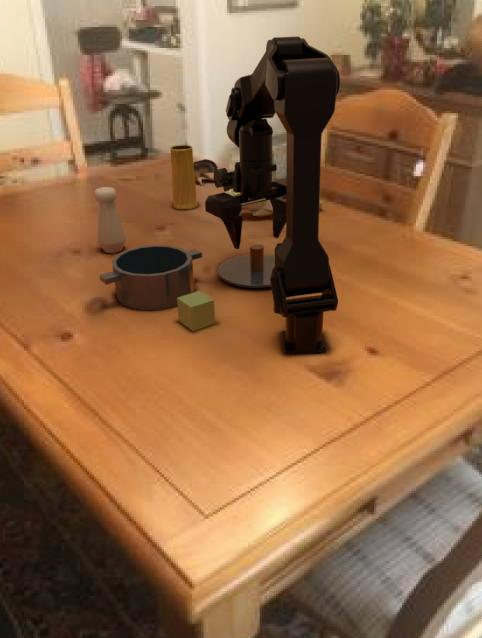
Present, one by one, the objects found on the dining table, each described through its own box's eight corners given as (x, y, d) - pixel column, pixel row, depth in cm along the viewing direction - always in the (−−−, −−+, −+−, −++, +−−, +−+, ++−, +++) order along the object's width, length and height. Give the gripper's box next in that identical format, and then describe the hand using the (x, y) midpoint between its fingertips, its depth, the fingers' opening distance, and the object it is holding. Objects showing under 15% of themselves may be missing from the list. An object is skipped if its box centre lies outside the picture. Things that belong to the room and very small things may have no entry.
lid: (312, 277, 118) (313, 249, 115) (248, 298, 111) (247, 269, 108) (264, 253, 129) (264, 227, 126) (203, 271, 121) (201, 244, 118)
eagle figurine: (192, 185, 167) (221, 174, 169) (181, 160, 166) (211, 149, 168) (187, 193, 174) (215, 183, 176) (176, 169, 173) (205, 159, 176)
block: (215, 323, 103) (213, 299, 101) (192, 331, 101) (190, 307, 99) (201, 313, 106) (199, 290, 104) (178, 321, 104) (176, 297, 102)
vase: (170, 204, 157) (165, 146, 149) (192, 201, 159) (188, 143, 151) (178, 211, 152) (173, 151, 145) (201, 207, 154) (197, 148, 147)
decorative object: (311, 199, 156) (214, 188, 149) (327, 178, 147) (225, 165, 140) (314, 231, 154) (216, 221, 146) (330, 212, 145) (227, 200, 137)
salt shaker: (93, 251, 131) (83, 190, 124) (110, 242, 135) (102, 182, 128) (115, 256, 129) (107, 194, 122) (132, 247, 133) (124, 186, 126)
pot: (220, 291, 114) (219, 258, 110) (124, 322, 104) (119, 287, 101) (181, 267, 123) (179, 236, 120) (90, 293, 114) (84, 260, 110)
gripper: (270, 141, 118) (269, 221, 127) (186, 157, 109) (191, 241, 118) (308, 152, 111) (305, 236, 119) (221, 170, 102) (224, 260, 110)
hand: (256, 242), depth 117 cm, fingers open, 9 cm apart
